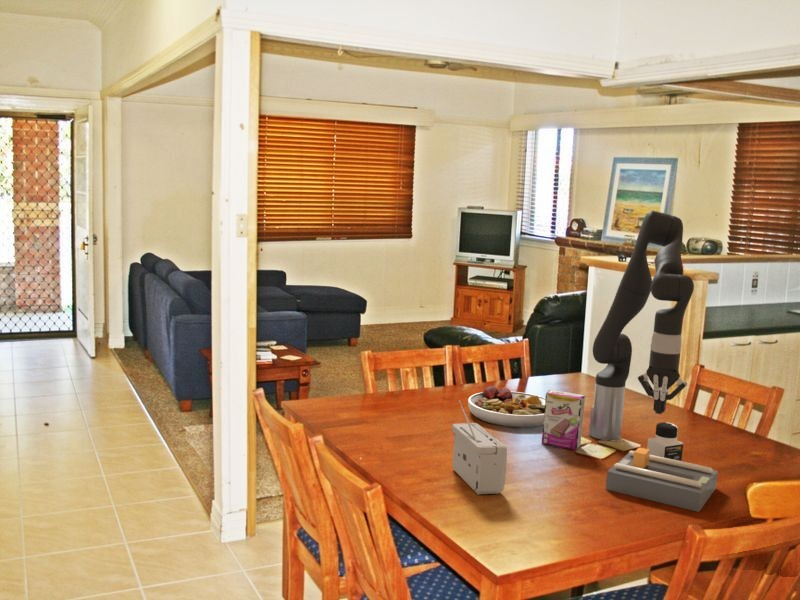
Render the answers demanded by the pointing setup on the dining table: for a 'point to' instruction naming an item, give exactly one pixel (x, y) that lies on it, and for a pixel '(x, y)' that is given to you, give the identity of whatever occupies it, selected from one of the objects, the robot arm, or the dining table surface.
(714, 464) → the dining table surface
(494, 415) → the bowl
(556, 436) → the candy bar box
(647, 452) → the orange block
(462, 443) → the stereo radio cassette player
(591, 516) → the dining table surface
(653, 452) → the medicine bottle
